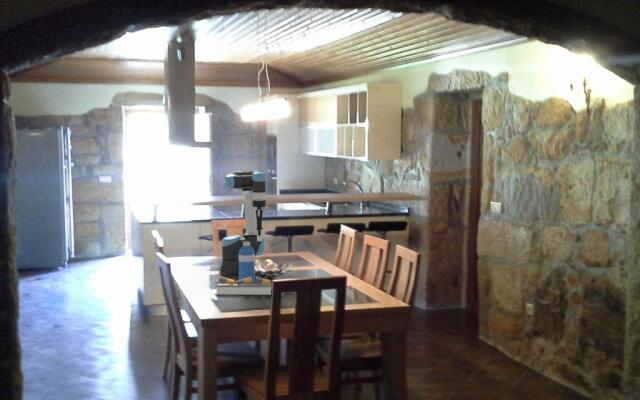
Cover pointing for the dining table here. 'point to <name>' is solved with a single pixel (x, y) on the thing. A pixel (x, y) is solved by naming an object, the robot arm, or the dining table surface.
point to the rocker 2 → (244, 280)
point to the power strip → (244, 288)
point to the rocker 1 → (226, 280)
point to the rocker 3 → (262, 280)
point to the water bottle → (246, 261)
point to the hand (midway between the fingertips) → (259, 240)
